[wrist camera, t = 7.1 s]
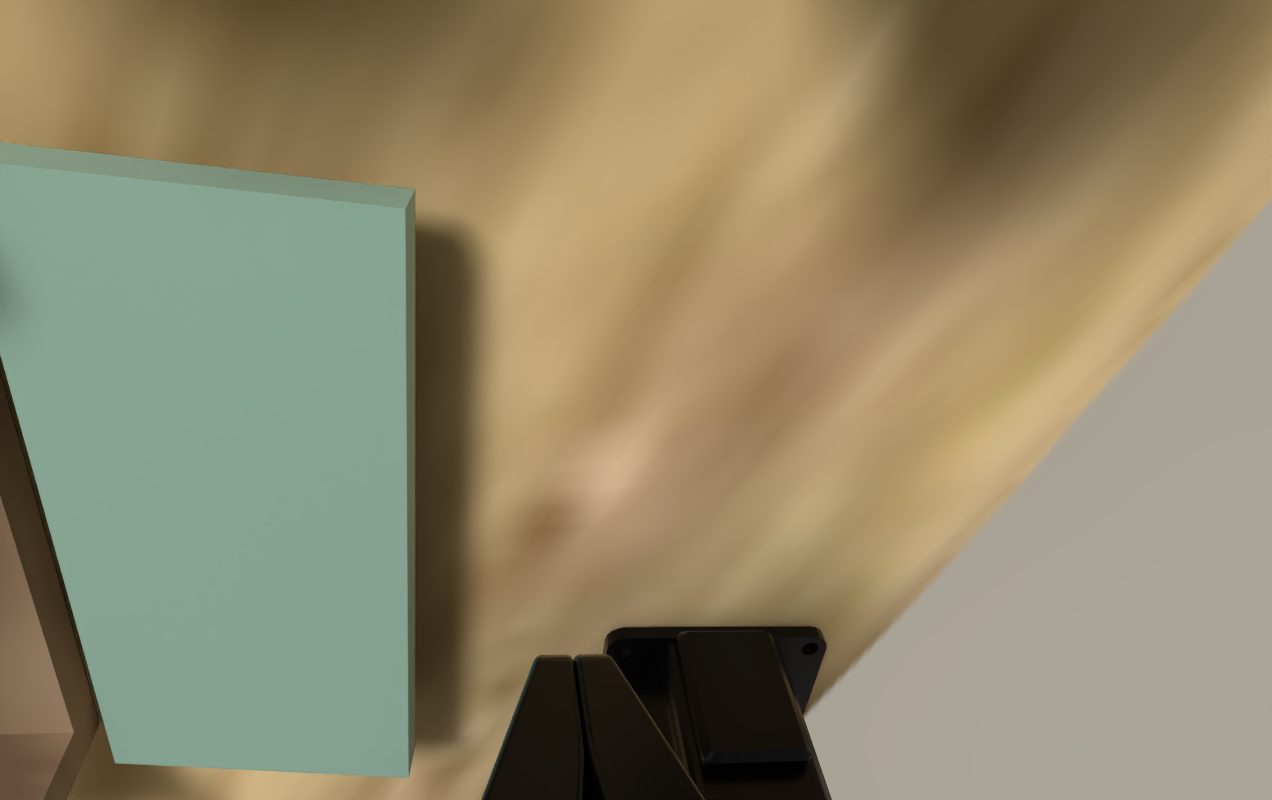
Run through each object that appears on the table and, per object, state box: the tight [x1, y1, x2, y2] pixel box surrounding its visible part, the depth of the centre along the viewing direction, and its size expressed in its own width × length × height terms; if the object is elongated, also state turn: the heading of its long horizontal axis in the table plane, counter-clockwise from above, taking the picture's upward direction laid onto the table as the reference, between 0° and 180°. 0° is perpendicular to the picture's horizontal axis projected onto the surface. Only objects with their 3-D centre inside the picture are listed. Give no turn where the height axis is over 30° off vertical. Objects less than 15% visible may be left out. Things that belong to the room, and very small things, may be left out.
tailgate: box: [0, 142, 415, 778], centre depth 20 cm, size 1×16×8 cm
